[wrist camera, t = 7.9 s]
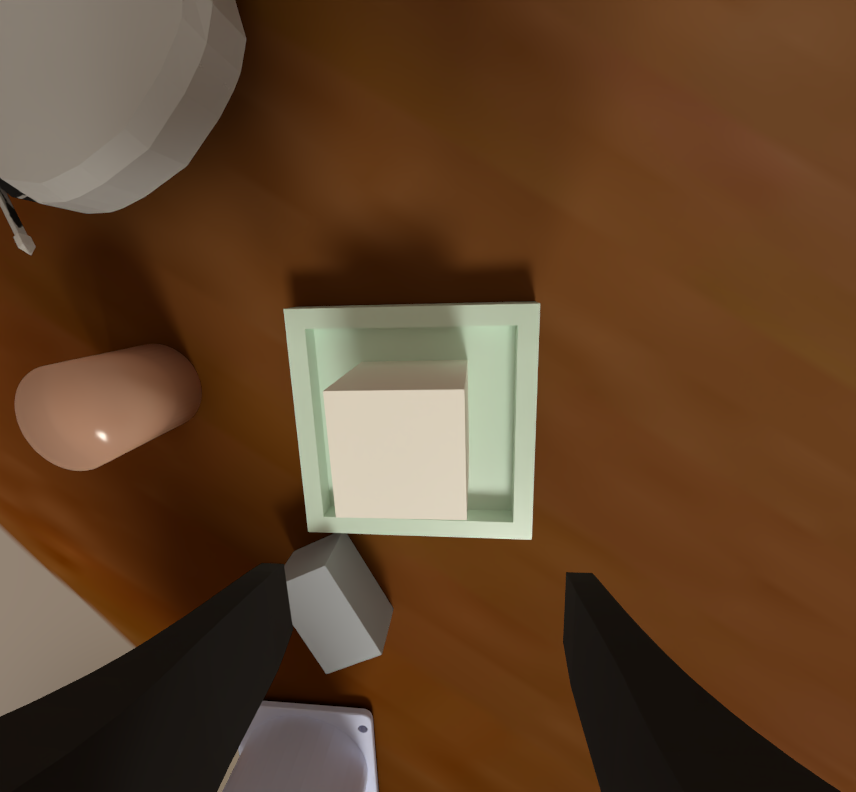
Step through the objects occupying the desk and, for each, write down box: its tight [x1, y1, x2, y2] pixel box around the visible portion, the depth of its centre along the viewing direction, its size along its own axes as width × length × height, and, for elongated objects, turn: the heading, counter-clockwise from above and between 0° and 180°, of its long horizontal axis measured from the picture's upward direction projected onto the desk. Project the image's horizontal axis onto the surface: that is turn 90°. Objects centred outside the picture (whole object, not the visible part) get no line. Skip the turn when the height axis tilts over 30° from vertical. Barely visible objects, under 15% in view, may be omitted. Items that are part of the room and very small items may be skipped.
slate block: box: [284, 533, 393, 674], centre depth 21 cm, size 5×3×3 cm, turn 28°
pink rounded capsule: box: [15, 344, 202, 471], centre depth 18 cm, size 4×4×5 cm
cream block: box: [323, 360, 469, 520], centre depth 17 cm, size 4×4×5 cm
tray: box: [283, 301, 540, 540], centre depth 19 cm, size 10×10×1 cm
